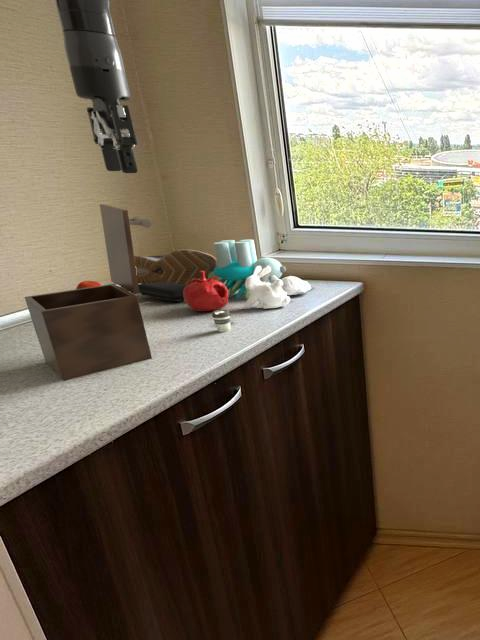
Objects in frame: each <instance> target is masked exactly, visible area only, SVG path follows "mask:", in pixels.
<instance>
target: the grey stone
mask: <svg viewBox="0 0 480 640" xmlns="http://www.w3.org/2000/svg"><path fill="white" fill-rule="evenodd" d="M280 280H282V282H283V285H282V286H280V287H281V288H282V290H284V291H285V292H286V295H287V296H293V295H294V296H295V295H300V294H305V293H307V292H309V291H310V290H311V289H312V286H311V284H310V283H309V282H308V281H306V280H303V279H301V278H300V277H297V276H295V275H294V276H293V275H287V276H285V277H281V278H280Z"/></svg>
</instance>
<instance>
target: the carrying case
mask: <svg viewBox="0 0 480 640" xmlns="http://www.w3.org/2000/svg"><path fill="white" fill-rule="evenodd" d="M186 286H187V285H184V284H178V283H172V282H157V283H146V284H141V285H140V286H138V290H139V294H141V295H142V296H147V297H151V298H154V299H155V298H157V299H160V300H166V301H171V302H179V301H185V300H184V298H183V290H184V288H185V287H186Z"/></svg>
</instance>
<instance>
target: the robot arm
mask: <svg viewBox="0 0 480 640" xmlns="http://www.w3.org/2000/svg"><path fill="white" fill-rule="evenodd" d="M54 2H55V8H56V13H57V15H58V16H57V17H58V20H59V25H60V28H61V31H62V36H63V46H64V51H65V55H66V60H67V63H68V66H69V67H68V68H69V71H70V75H71V79H72V83H73V87H74V91H75V94H76V96H77V97H78V98H80V99H84V100H90V101H91V102H92V106H90V107H89V106H88V107H86V112H87V115H88V119H89V124H90V127H91V128H90V129H91V132H92V137H93V142H94V143H95V145H97V147H99V149H100V150H101V153H102V158H103V162H104V166H105V169H106V171H108V172H122V173H123V174H136V173H138V166H137V162H136V158H135V152H134V149H135V146H137V145H138V140H137V135H136V132H135V128H134V124H133V119H132V116H131V112H130V110H131V109H130V107H129V105H125V104H121V103H120V102H127V101H130V100H131V93H130V88H129V87H130V86H129V83H128V78H127V73H126V70H125V65H124V64H125V63H124V60H123V55H122V52H121V49H120V46H119V43H118V41H117V38H116V32H115V28H114V23H113V18H112V15H111V14H112V13H111V10H110V0H54Z"/></svg>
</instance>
